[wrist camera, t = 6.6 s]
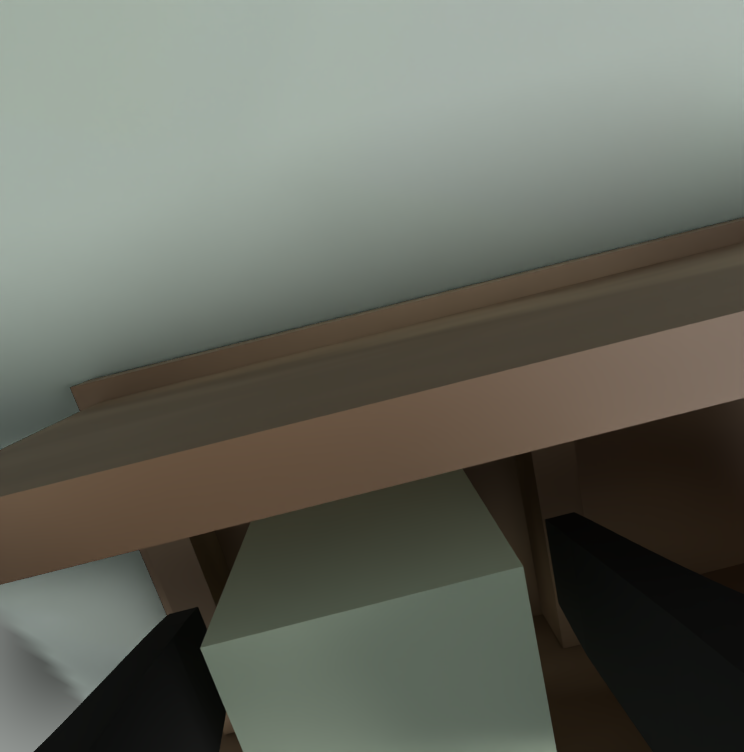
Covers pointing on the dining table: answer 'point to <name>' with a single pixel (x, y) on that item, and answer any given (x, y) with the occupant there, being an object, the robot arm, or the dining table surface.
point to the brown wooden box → (427, 438)
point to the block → (380, 629)
